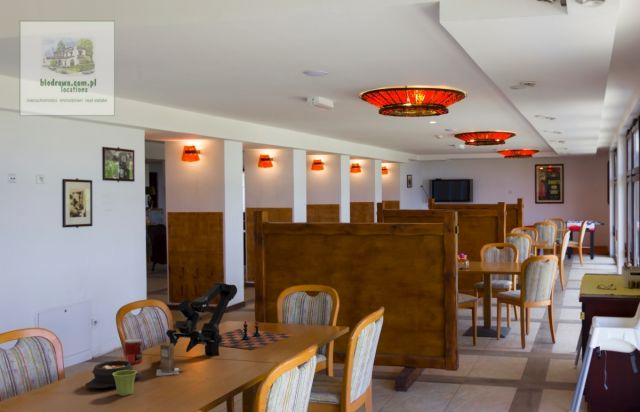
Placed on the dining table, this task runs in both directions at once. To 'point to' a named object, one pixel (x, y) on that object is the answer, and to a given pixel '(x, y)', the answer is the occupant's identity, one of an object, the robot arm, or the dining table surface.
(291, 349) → the dining table surface
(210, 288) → the robot arm
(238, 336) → the chessboard
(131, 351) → the canned food
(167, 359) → the plain brown block
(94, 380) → the casserole
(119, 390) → the plant pot
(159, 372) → the felt mat
